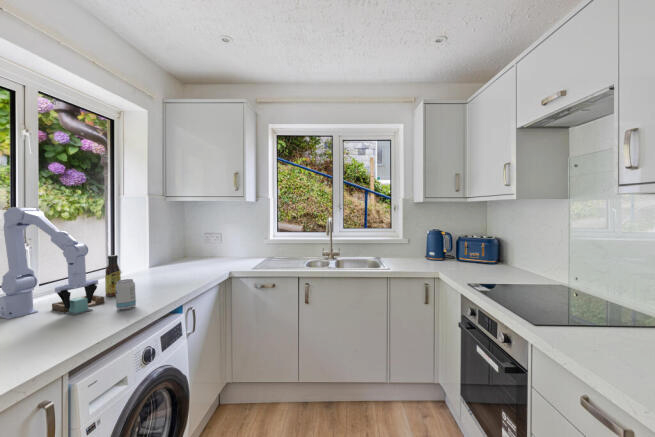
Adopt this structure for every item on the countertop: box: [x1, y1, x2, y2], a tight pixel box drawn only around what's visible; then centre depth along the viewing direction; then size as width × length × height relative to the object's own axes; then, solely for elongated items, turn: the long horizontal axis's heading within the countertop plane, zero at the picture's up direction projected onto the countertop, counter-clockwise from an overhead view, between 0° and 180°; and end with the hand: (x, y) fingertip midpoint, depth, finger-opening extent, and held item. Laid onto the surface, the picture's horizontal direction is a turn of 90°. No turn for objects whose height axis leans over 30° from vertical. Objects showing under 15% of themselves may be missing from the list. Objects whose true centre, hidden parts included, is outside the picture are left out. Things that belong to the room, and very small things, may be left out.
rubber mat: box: [63, 308, 94, 317], centre depth 127 cm, size 7×7×1 cm
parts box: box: [51, 294, 105, 314], centre depth 135 cm, size 15×10×3 cm, turn 155°
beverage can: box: [115, 278, 137, 311], centre depth 131 cm, size 7×7×12 cm
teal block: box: [69, 296, 89, 313], centre depth 127 cm, size 4×4×5 cm
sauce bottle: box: [104, 254, 122, 297], centre depth 152 cm, size 7×6×20 cm
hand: (78, 305), depth 127 cm, fingers open, 7 cm apart
